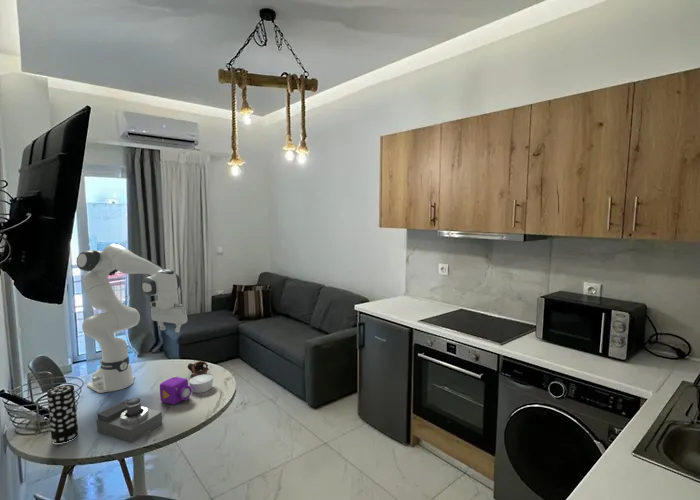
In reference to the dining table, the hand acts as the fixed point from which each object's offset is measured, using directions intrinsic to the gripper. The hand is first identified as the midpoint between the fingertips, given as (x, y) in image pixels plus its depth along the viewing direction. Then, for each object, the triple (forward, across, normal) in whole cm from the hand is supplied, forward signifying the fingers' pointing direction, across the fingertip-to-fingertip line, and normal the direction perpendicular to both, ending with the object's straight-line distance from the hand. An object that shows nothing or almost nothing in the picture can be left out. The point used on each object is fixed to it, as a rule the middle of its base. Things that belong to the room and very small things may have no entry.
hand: (170, 331), depth 180 cm
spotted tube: (+31, +9, +44) cm, 55 cm away
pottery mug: (+31, +5, -20) cm, 38 cm away
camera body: (+31, -8, +29) cm, 43 cm away
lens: (+26, -11, +29) cm, 40 cm away
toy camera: (+31, -8, +5) cm, 33 cm away
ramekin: (+32, -10, -8) cm, 34 cm away
